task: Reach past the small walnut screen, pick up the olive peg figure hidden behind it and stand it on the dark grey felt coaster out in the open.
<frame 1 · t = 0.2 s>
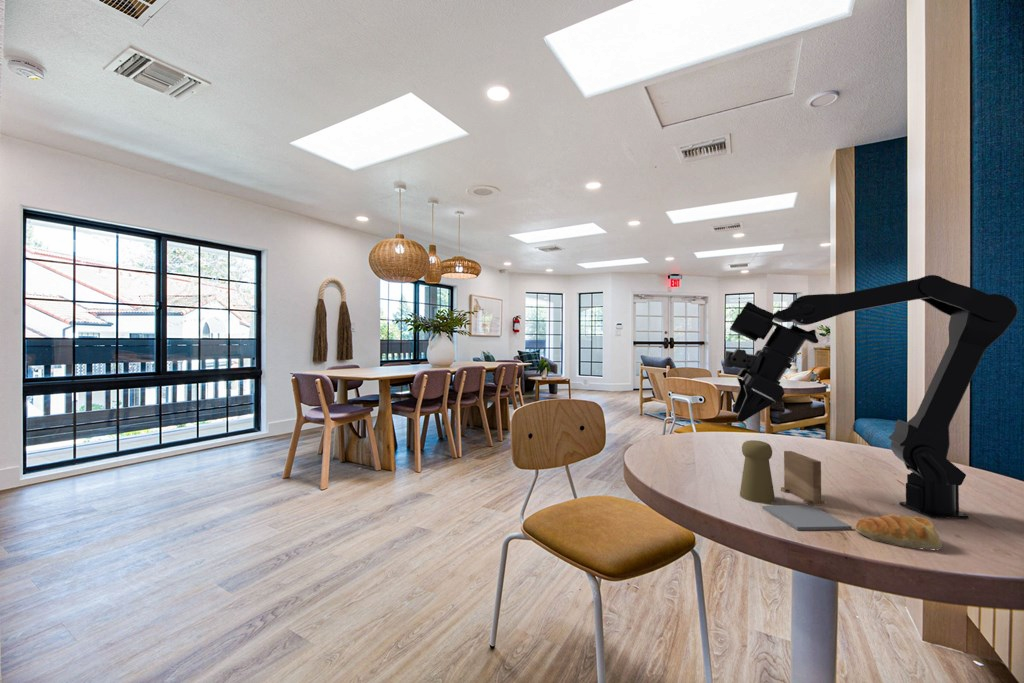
hand: (737, 416, 89), 15 cm above the table, tool tilted 30°, fingers open, 9 cm apart
screen: (801, 496, 82), on the table
pastry: (900, 542, 64), on the table
olive peg figure: (757, 498, 82), on the table
coaster: (804, 518, 72), on the table
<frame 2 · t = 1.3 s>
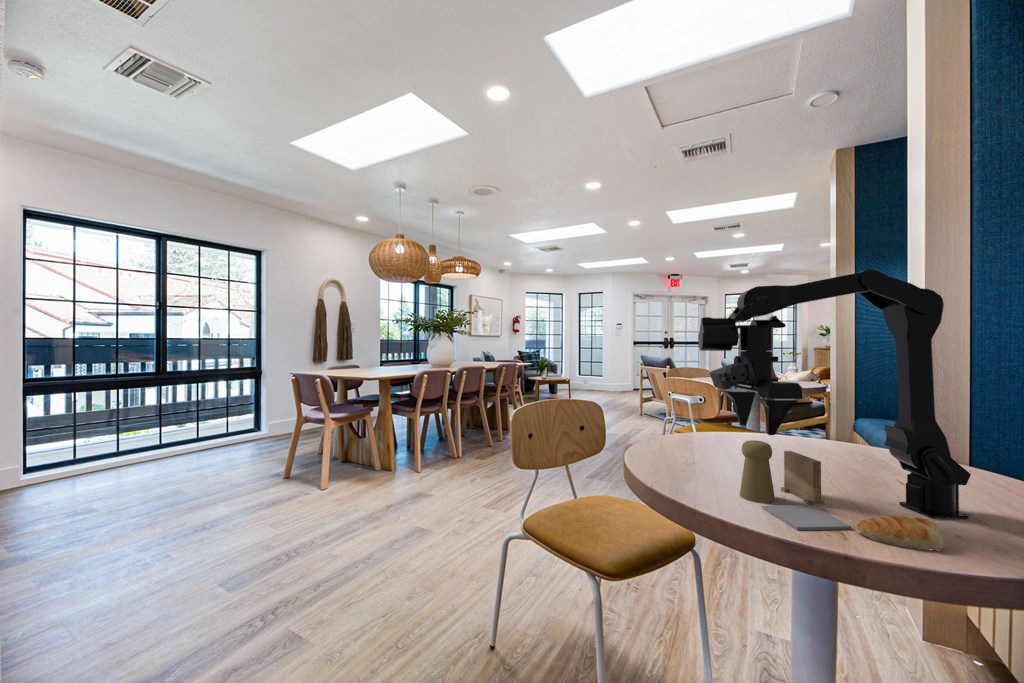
hand: (756, 430, 83), 13 cm above the table, tool pointing down, fingers open, 9 cm apart
nothing on the table moved.
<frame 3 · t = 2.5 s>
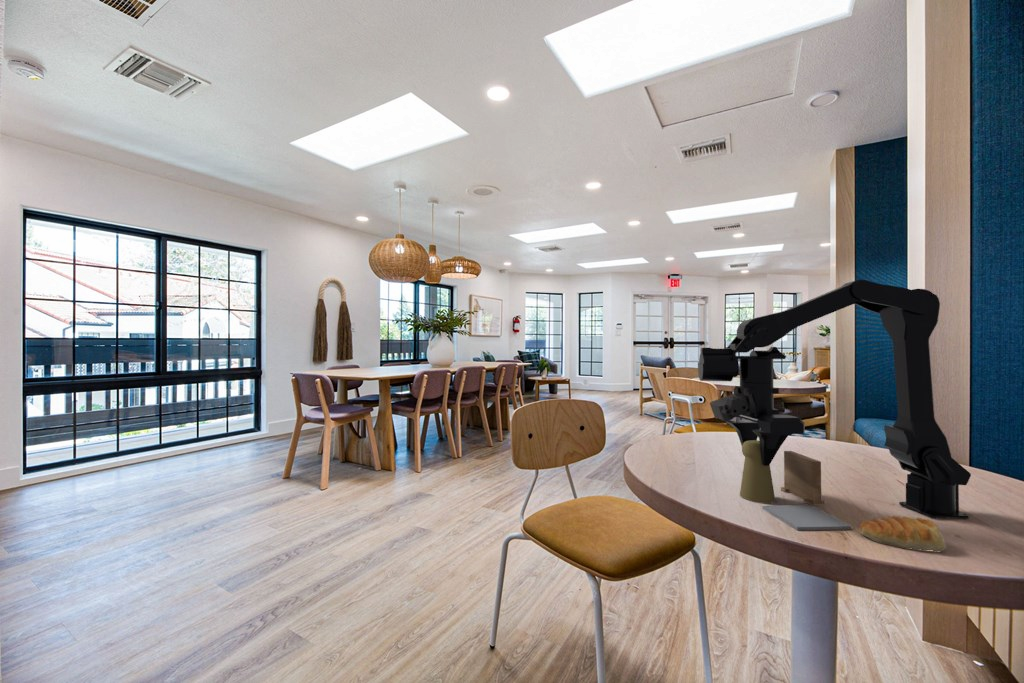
hand: (756, 461, 82), 7 cm above the table, tool pointing down, fingers closed on olive peg figure, 5 cm apart
olive peg figure: (757, 498, 82), on the table, touching gripper
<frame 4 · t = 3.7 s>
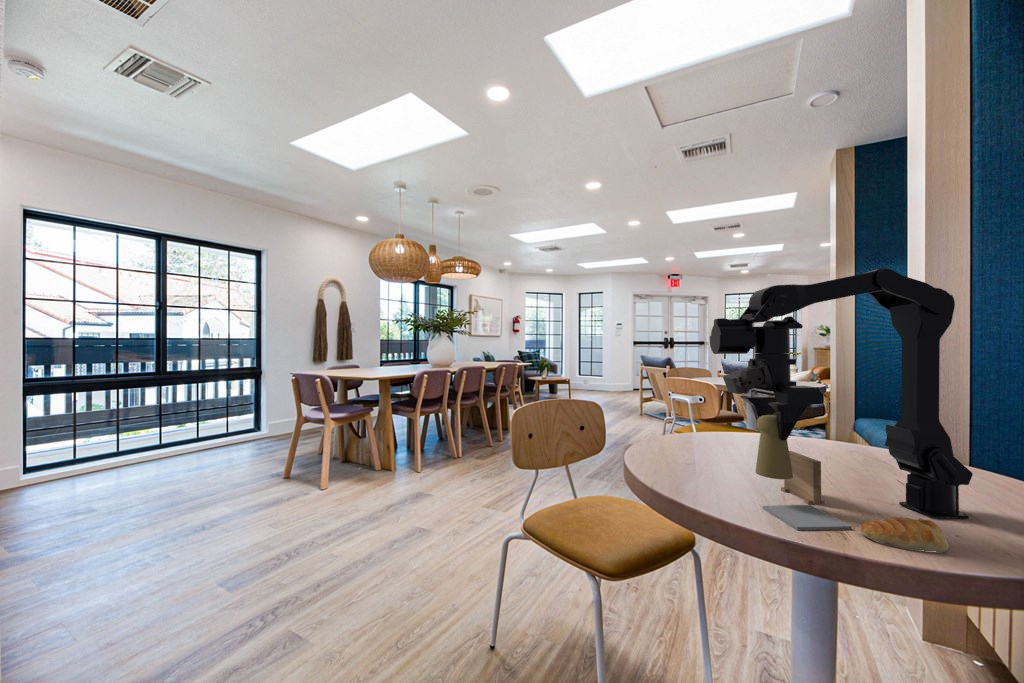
hand: (773, 436, 78), 13 cm above the table, tool pointing down, fingers closed on olive peg figure, 5 cm apart
olive peg figure: (773, 475, 78), point 5 cm above the table, touching gripper
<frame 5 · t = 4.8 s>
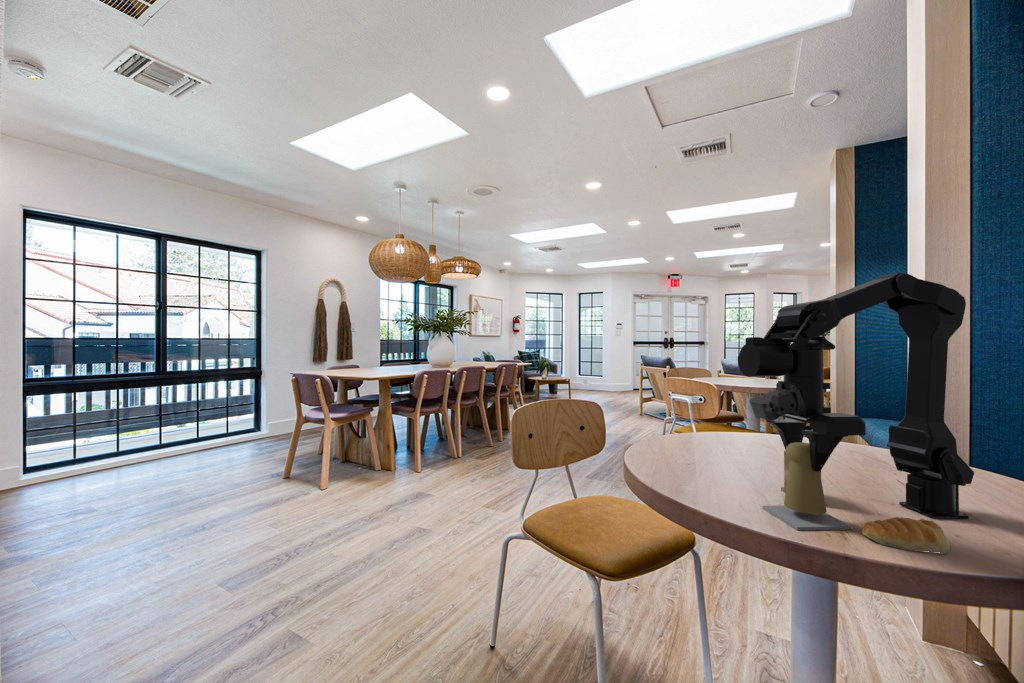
hand: (804, 466, 72), 9 cm above the table, tool pointing down, fingers closed on olive peg figure, 5 cm apart
olive peg figure: (804, 508, 72), point 2 cm above the table, touching gripper
when the fingers open (8 cm above the table, at t = 5.3 s): olive peg figure stays where it is, resting on coaster.
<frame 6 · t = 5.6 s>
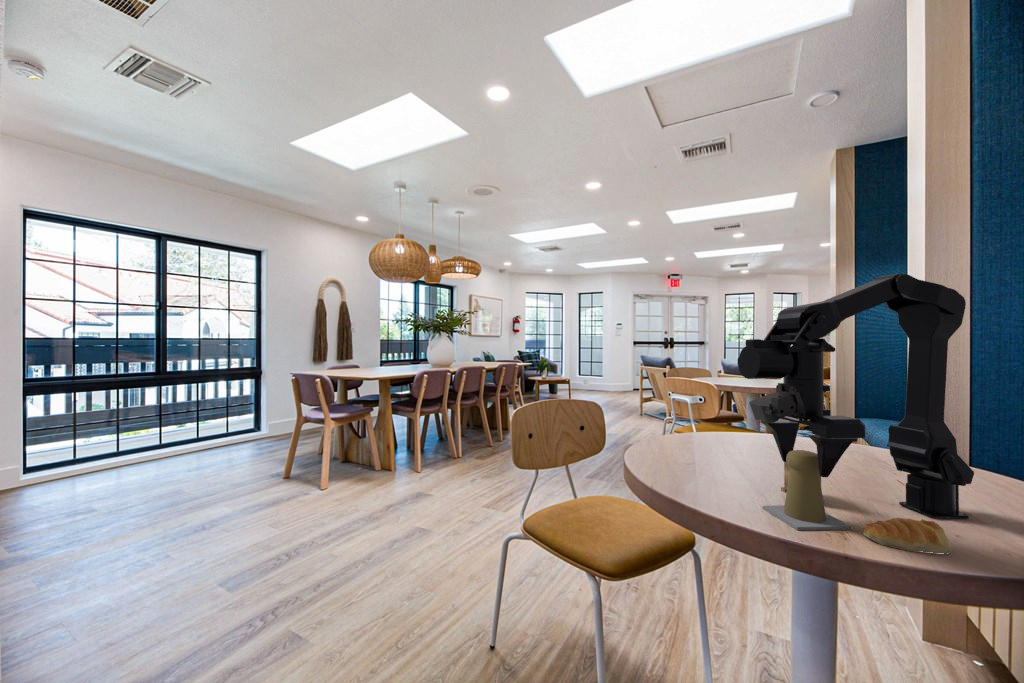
hand: (804, 468, 72), 8 cm above the table, tool pointing down, fingers open, 9 cm apart
olive peg figure: (804, 516, 72), resting on coaster
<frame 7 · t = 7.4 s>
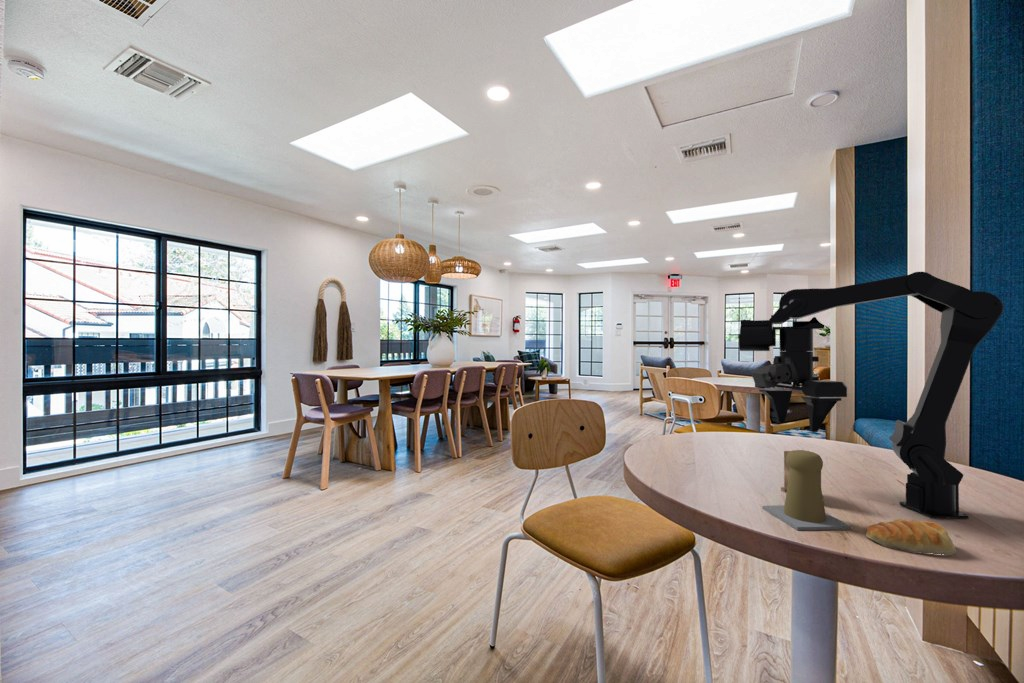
hand: (796, 427, 86), 13 cm above the table, tool pointing down, fingers open, 9 cm apart
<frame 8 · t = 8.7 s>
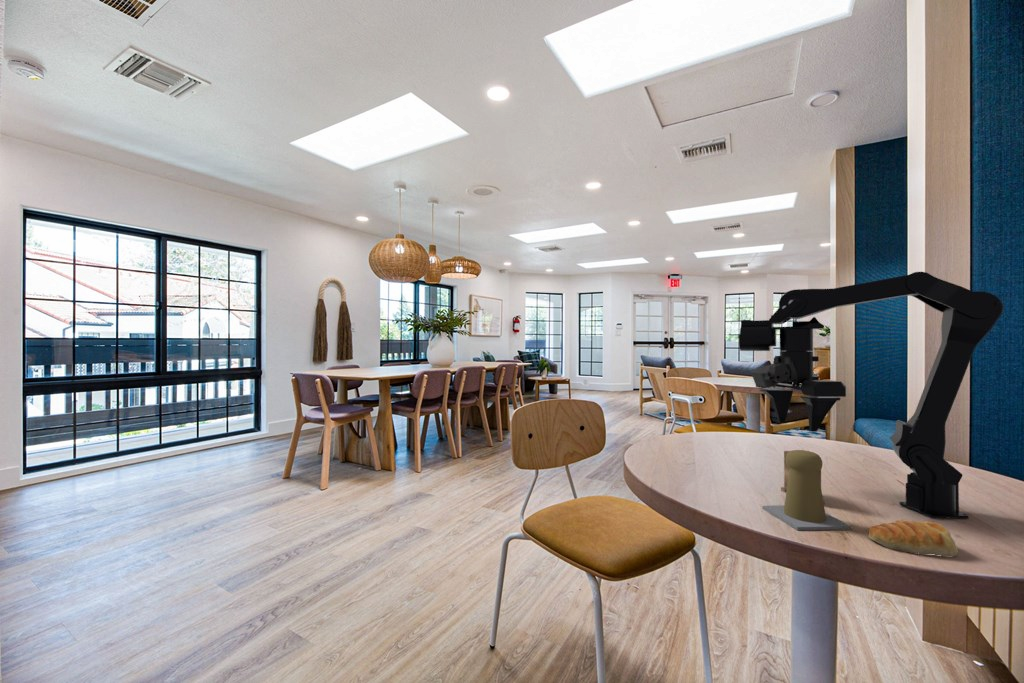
hand: (796, 426, 86), 13 cm above the table, tool pointing down, fingers open, 9 cm apart
at the end: olive peg figure inside the target area on the coaster (0.0 cm from its centre), point 0.3 cm above the coaster's base; olive peg figure tilted 0°; the gripper is holding nothing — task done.
